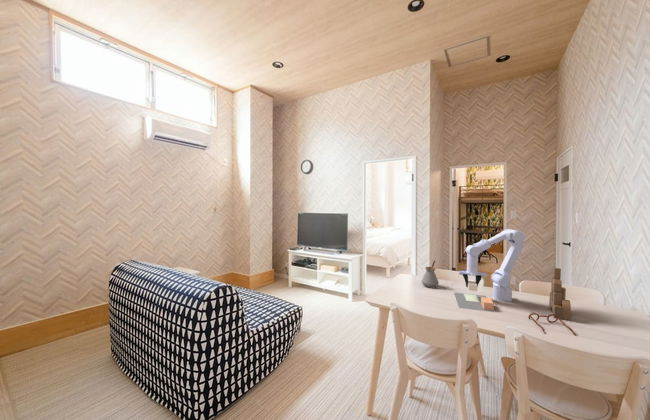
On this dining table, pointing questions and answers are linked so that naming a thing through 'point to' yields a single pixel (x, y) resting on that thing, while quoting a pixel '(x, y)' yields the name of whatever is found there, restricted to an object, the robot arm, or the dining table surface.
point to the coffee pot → (430, 277)
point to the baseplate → (470, 301)
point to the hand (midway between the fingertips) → (471, 287)
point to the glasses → (548, 320)
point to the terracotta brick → (487, 303)
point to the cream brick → (472, 285)
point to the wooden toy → (559, 297)
